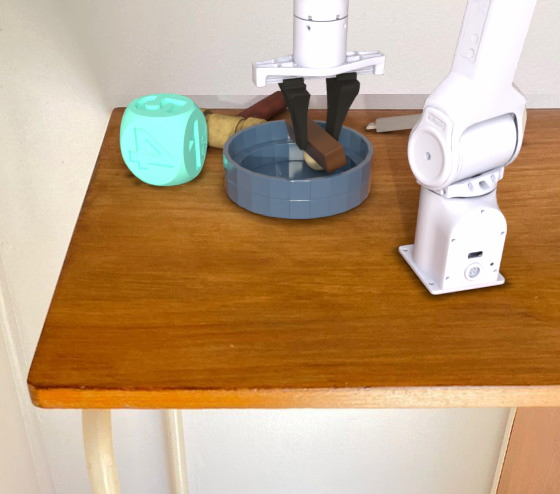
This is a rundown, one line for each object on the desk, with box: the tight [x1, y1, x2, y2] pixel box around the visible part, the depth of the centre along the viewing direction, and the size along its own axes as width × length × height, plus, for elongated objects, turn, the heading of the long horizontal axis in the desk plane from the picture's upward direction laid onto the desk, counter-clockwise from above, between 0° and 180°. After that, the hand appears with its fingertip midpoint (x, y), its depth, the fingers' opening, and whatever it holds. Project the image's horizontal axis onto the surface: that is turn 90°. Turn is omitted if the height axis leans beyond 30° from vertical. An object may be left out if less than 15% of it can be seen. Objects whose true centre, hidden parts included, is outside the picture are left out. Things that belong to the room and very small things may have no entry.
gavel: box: [199, 90, 288, 150], centre depth 113 cm, size 21×5×10 cm
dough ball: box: [303, 150, 324, 170], centre depth 102 cm, size 4×4×4 cm
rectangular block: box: [284, 115, 347, 174], centre depth 98 cm, size 10×2×2 cm, turn 26°
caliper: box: [365, 105, 528, 141], centre depth 110 cm, size 20×1×6 cm, turn 77°
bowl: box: [222, 118, 375, 220], centre depth 99 cm, size 17×17×5 cm
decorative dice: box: [119, 92, 208, 187], centre depth 101 cm, size 8×8×8 cm
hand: (316, 144), depth 98 cm, fingers closed on rectangular block, 3 cm apart
